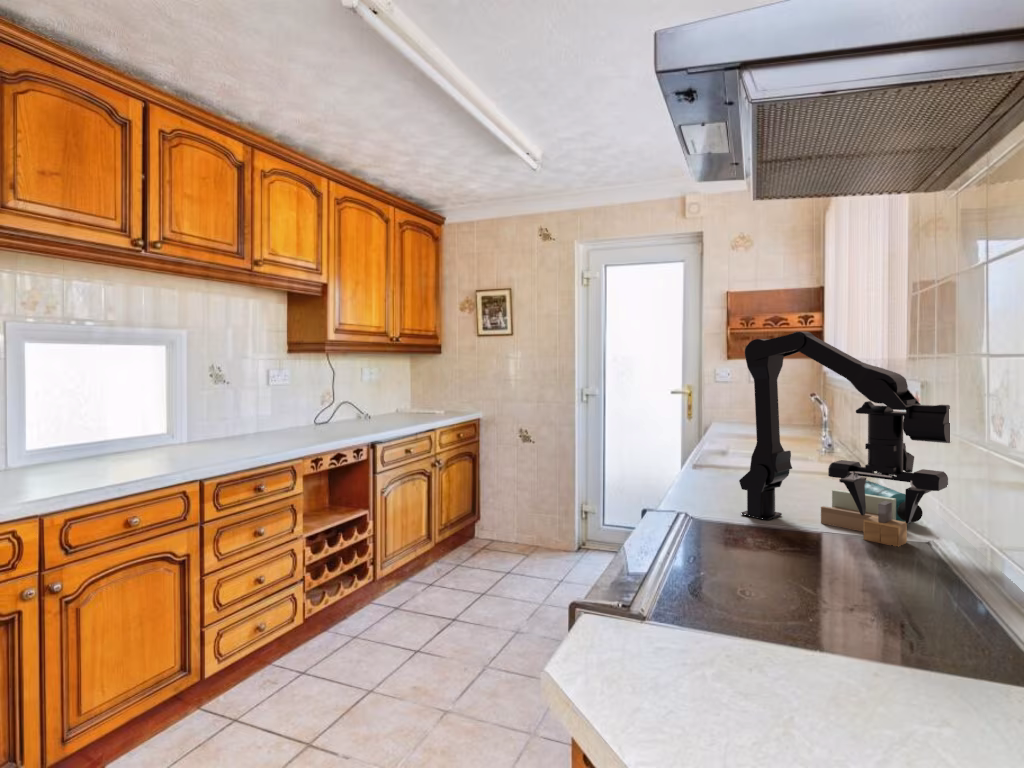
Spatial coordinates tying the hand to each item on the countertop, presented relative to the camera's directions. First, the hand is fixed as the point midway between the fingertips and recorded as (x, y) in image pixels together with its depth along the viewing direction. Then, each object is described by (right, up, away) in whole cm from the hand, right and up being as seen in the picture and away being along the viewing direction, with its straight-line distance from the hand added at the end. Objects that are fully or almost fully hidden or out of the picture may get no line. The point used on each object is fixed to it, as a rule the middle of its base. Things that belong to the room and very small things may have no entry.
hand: (884, 519), depth 113 cm
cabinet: (0, -4, 0) cm, 4 cm away
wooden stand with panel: (+1, -4, +11) cm, 12 cm away
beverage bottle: (+11, 0, +27) cm, 30 cm away
